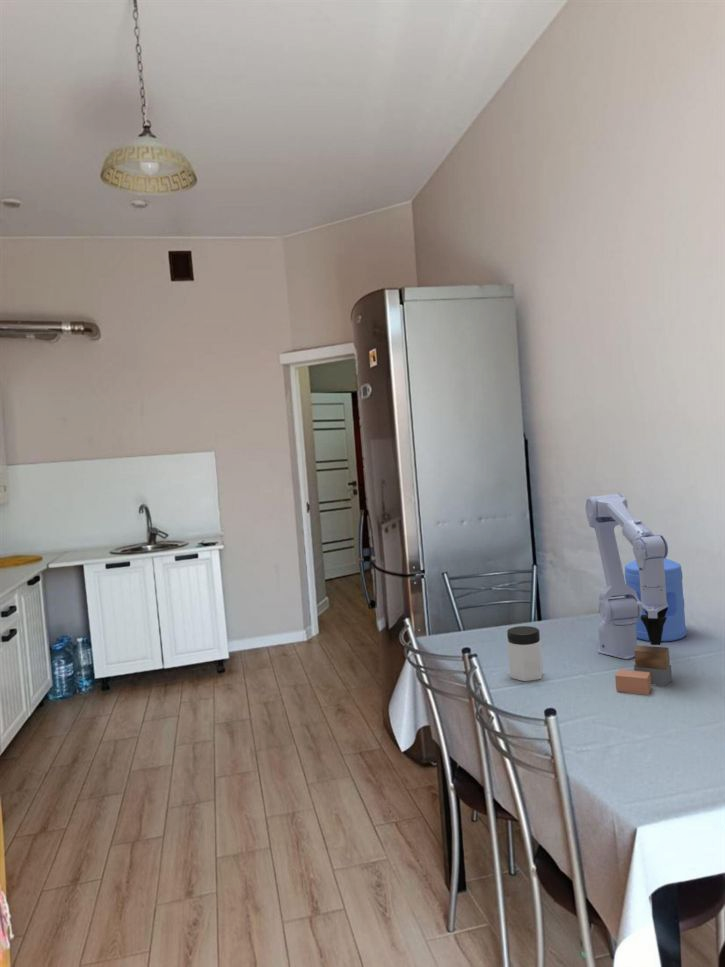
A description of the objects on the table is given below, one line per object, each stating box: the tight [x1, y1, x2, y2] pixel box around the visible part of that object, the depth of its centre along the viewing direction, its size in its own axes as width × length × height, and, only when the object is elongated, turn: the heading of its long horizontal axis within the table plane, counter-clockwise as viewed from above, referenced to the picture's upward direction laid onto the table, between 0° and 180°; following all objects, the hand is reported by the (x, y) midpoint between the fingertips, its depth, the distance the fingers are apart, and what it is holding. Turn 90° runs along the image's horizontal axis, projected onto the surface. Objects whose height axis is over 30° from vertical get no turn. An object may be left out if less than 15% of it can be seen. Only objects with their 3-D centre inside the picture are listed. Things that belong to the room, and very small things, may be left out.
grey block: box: [633, 664, 673, 687], centre depth 160 cm, size 7×4×4 cm, turn 41°
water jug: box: [624, 557, 687, 642], centre depth 195 cm, size 16×16×28 cm
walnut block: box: [634, 644, 671, 670], centre depth 160 cm, size 7×4×4 cm, turn 58°
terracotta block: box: [614, 669, 652, 696], centre depth 156 cm, size 7×4×4 cm, turn 58°
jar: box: [506, 625, 544, 682], centre depth 171 cm, size 9×8×12 cm
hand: (656, 639), depth 162 cm, fingers open, 7 cm apart
